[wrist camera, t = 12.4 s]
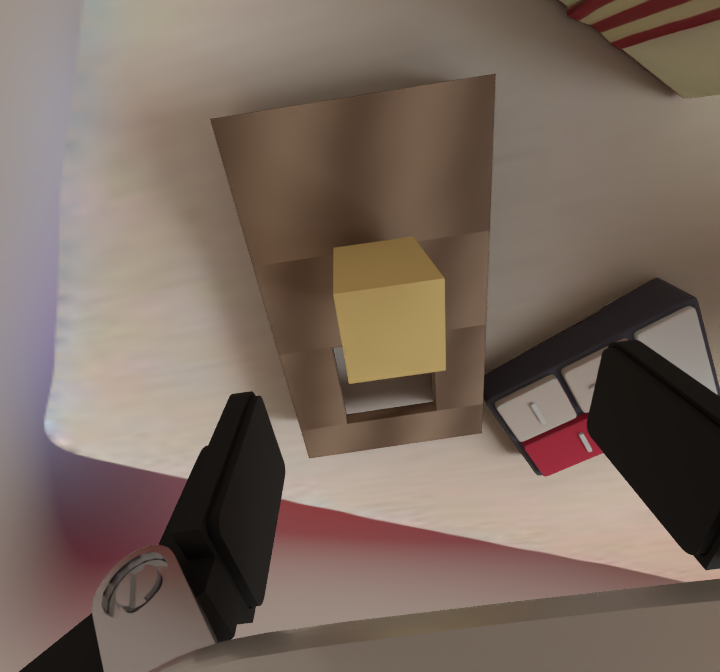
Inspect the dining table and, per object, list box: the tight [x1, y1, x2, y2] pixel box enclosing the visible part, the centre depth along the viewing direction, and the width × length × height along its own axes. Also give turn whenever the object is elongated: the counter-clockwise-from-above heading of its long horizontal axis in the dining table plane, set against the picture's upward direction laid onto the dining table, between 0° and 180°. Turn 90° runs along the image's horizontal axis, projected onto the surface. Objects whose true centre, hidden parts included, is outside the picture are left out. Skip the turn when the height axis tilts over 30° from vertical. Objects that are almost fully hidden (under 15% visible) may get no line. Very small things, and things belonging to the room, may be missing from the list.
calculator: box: [483, 278, 720, 476], centre depth 29 cm, size 11×4×15 cm
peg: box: [333, 237, 446, 384], centre depth 19 cm, size 5×5×12 cm
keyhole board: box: [210, 74, 496, 458], centre depth 24 cm, size 13×22×4 cm, turn 8°
